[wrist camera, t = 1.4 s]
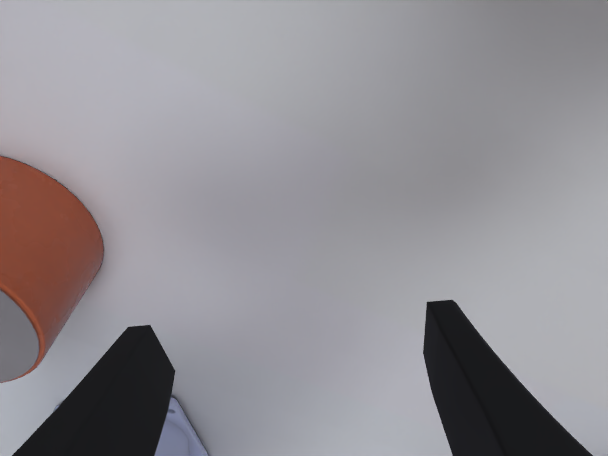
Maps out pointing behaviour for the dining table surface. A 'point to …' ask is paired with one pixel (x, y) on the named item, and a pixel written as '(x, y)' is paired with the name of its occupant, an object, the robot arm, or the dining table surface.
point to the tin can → (40, 263)
